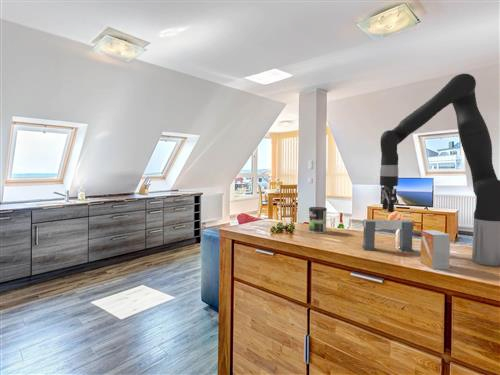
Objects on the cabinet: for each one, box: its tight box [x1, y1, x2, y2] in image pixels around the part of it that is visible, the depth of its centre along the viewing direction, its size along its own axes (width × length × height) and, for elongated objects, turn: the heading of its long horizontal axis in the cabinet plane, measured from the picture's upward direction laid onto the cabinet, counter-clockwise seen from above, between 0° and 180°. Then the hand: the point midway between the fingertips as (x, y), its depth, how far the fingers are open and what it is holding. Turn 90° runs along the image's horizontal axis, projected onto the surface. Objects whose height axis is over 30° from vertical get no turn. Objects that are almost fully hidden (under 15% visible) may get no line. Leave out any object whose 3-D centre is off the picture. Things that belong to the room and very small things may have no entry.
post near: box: [398, 222, 415, 253], centre depth 134 cm, size 5×6×13 cm
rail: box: [363, 218, 414, 230], centre depth 135 cm, size 20×4×4 cm, turn 81°
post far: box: [361, 219, 377, 251], centre depth 137 cm, size 5×6×13 cm
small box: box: [419, 229, 451, 270], centre depth 112 cm, size 8×6×13 cm
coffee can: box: [308, 206, 328, 234], centre depth 175 cm, size 10×10×14 cm
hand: (387, 210), depth 135 cm, fingers open, 8 cm apart
